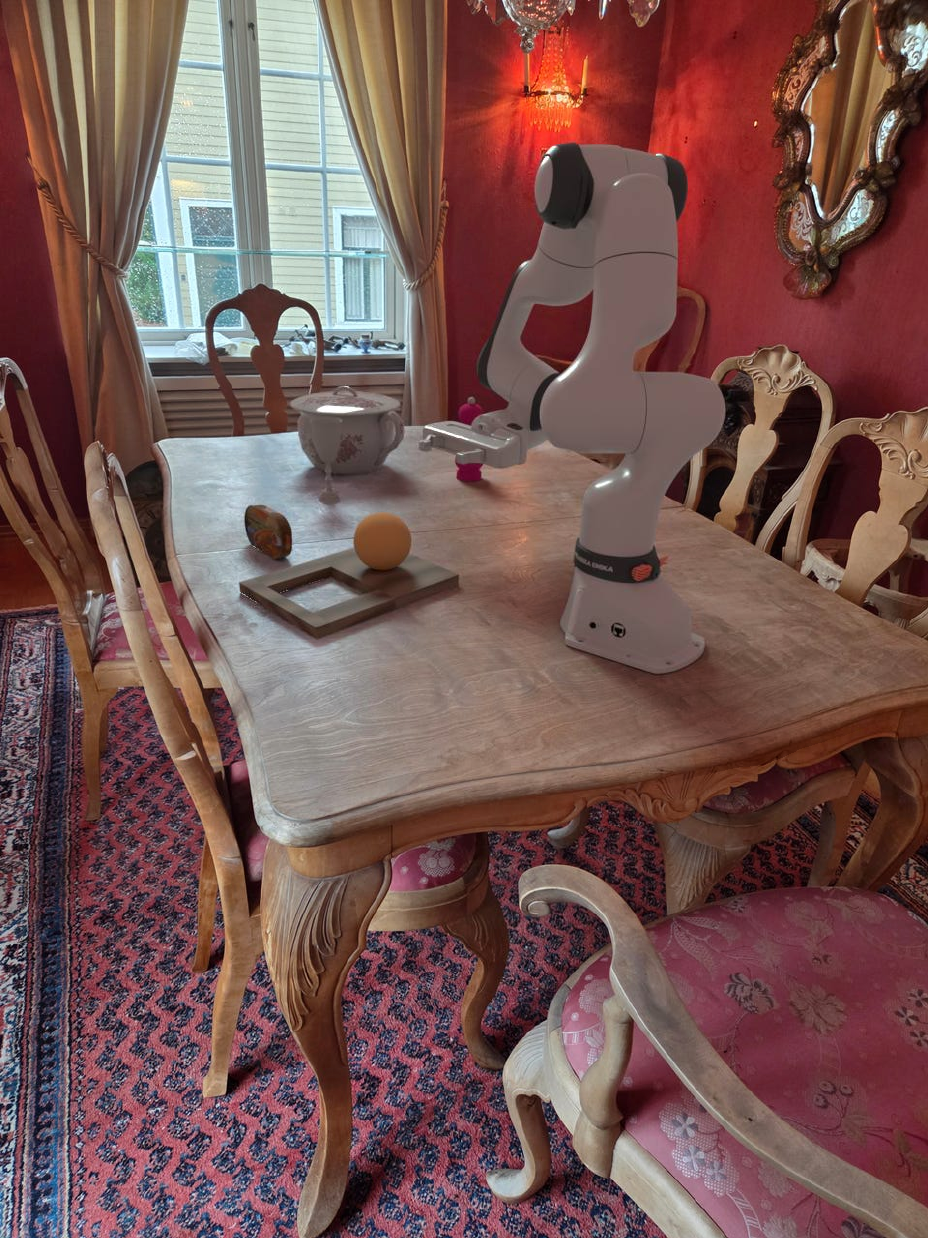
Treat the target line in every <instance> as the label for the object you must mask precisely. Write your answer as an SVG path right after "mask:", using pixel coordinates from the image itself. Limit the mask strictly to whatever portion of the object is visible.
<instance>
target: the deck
mask: <svg viewBox="0 0 928 1238" xmlns="http://www.w3.org/2000/svg"><path fill="white" fill-rule="evenodd" d="M328 578H329V579H330V578H333V579H335V580H337V581H339V582H341V583H343V582H344V583H343V584H345V585H347V586H349V587H351V588H353V589H355V590H357V591H358V592H360V593H363V594H362V595H361V594H360V595H359V596H356V597H352V598H350V599H347V600H345V601H342V602H338V603H336V604H333V605H330V606H328V607H325V608H322V609H319V610H316V611H314V612H312V611H310V610H308V609H307V608H305V607H303V606H301V605H300V604H299V603H296V602H294V601H293V600H291V599H289V598H288V597H285V596H284V595H282V593H280V592H283V591H286V590H289V591H293V590H295V588H296V589H298V588H297V587H299V588H302V587H304V586H303V585H305V586H307V585H306V584H308V585H310V584H309V583H311V584H313V583H312V582H314V583H316V582H315V581H317V582H320V581H323V580H326V579H328ZM322 579H323V580H322ZM319 580H320V581H319ZM238 584H239V585H238V586H239V593H240V592H241V593H243V594H245V595H246V596H248V597H249V598H251V599H252V600H254V601H256V602H257V603H258V604H257V603H256V602H255V603H256V604H257V605H259V604H260V605H259V606H261V607H262V606H263V608H264V609H266V610H267V611H269V612H271V613H272V614H274V615H276V616H277V617H279V618H280V619H282V620H284V621H285V620H286V622H288V623H289V624H291V625H292V626H294V627H296V628H297V629H299V630H301V631H302V632H304V633H305V634H307V635H309V636H310V637H312V638H314V639H315V640H320V639H321V638H325V637H326V636H329V635H330V636H331V635H332V634H334V633H338V632H339V631H342V630H343V631H344V629H348V628H351V627H353V626H356V625H359V624H361V623H363V622H366V621H368V620H371V619H373V618H374V619H375V618H376V617H379V616H381V615H384V614H387V613H390V612H392V611H395V610H398V609H400V608H403V607H405V606H407V605H410V604H413V603H415V602H417V601H421V600H424V599H426V598H428V597H429V598H430V597H431V596H434V595H437V594H440V593H441V592H444V591H447V590H449V589H452V588H455V587H457V586H459V584H460V574H459V573H456V572H454V571H451V570H450V569H447V568H444V567H442V566H440V565H439V564H435V563H432V562H431V561H428V560H425V559H423V558H422V557H418V556H417V555H415V554H412V553H410V552H409V554H408V556H407V557H406V559H405V560H404V561H403V562H402V563H401V564H400V565H398V566H397V567H395V568H392V569H388V570H377V569H373V568H371V567H369V566H367V565H366V564H364V563H363V562H362V561H361V560H360V559H359V557H358V555H357V554H356V551H355V548H354V547H352V548H348V549H345V550H342V551H338V552H335V553H332V554H328V555H324V556H322V557H319V558H315V559H311V560H308V561H305V562H301V563H297V564H294V565H292V566H289V567H285V568H281V569H278V570H275V571H272V572H269V573H266V574H262V575H260V576H259V575H258V576H255V577H252V578H248V579H246V580H243V581H239V582H238ZM301 586H302V587H301ZM286 592H287V591H286ZM241 593H240V594H241ZM279 593H280V594H279ZM283 593H284V592H283ZM246 596H245V597H246ZM249 598H248V599H249ZM251 599H250V600H251ZM252 600H251V601H252ZM254 601H253V602H254Z"/></svg>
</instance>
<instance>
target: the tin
mask: <svg viewBox="0 0 928 1238" xmlns="http://www.w3.org/2000/svg"><path fill="white" fill-rule="evenodd" d="M243 517H244V520H243V521H244V529H245V533H246V536H247V538H248V541H249V543H250V544H251V546H252V545H253V546H255V547H256V548H258V549H259V550H260V551H259V550H258V551H259V552H261V551H262V552H263V553H262V552H261V553H262V554H264V553H265V554H266V556H267V555H268V556H267V557H268V558H270V559H272V560H278V559H283V558H286V557H288V556H290V555H291V554H292V551H293V536H292V534H293V533H292V532H293V531H292V527H291V524H290V523H289V521H288V519H287V517H285V515H283V514H282V513H280V512H278V511H277V510H275V509H273V508H271V507H269V506H266V505H265V504H255V505H251V504H250V505H248V506H247V507H246V508H245V511H244V516H243ZM253 546H252V547H253ZM256 548H255V549H256ZM265 554H264V555H265Z"/></svg>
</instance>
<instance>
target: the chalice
mask: <svg viewBox="0 0 928 1238" xmlns="http://www.w3.org/2000/svg"><path fill="white" fill-rule="evenodd" d="M309 421H310V423H311V425H312V438H313V444H314V447H315V449H316V451H317V453H318V455H319V457H320V459H321V461H323V462H325V463H326V470H325V471H324V472H325V474H326V476H325V478H324V480H325V481H326V482H325V483H326V487H325V488H324V489H322V491H321V493H320V495H319V499H318V501H319V502H320V503H322V504H335V503H340V502H341V501H342V499H341V497H340V494H339V492H338V491H337V489H336V488H333V487H332V486H333V485H332V481H333V480H334V479H333V478H332V476H331V475H332V474H331V472H332V470H331V468H330V463H331V462H333V461H334V460H335V458H336V455H337V453H338V451H339V447H340V444H341V434H340V424H341V422H342V419H339V418H335V417H315V418H311V419H310V420H309Z"/></svg>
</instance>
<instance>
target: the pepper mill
mask: <svg viewBox="0 0 928 1238" xmlns="http://www.w3.org/2000/svg"><path fill="white" fill-rule="evenodd" d="M483 414H484V411H483V408H482V406H480V405H479V404H476V399H475V397H473V396H470V397H468V399H467V403H465V404H462V405H461V406H460V408H459V411H458V419H459V420H460V423H462V424H466V425H469V426H471V424H472V422H473V421H474V419H475V418H476V417H478V416H480V415H483ZM454 458H455V459H454V463H455V465H456V467H457V468H458V469H457V470H456V479H457V480H458V481H462V482H476V481H480V480H481V479H482V473H483V472H482V470H481V468H482V467H483V466H484V464H482V463H467V464H464V465H463V464H460V463H457V462H456V459H457V458H456V456H455V457H454Z"/></svg>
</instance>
